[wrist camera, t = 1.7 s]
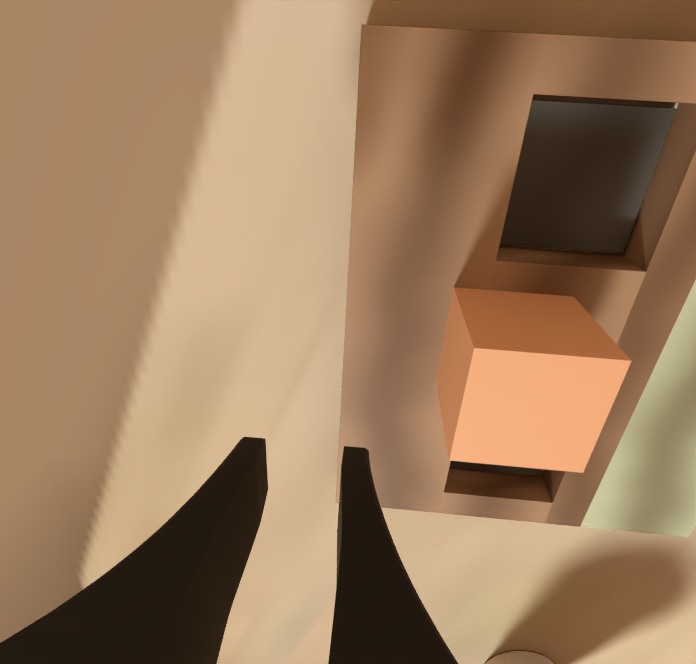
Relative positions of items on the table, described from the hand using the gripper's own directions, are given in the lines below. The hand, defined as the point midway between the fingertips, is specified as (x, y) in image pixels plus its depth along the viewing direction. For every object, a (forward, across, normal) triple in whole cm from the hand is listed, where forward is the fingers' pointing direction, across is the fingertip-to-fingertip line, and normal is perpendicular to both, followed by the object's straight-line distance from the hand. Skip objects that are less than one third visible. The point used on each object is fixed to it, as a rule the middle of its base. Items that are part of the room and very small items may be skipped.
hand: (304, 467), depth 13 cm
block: (+8, -8, 0) cm, 11 cm away
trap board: (+10, -10, 0) cm, 15 cm away
